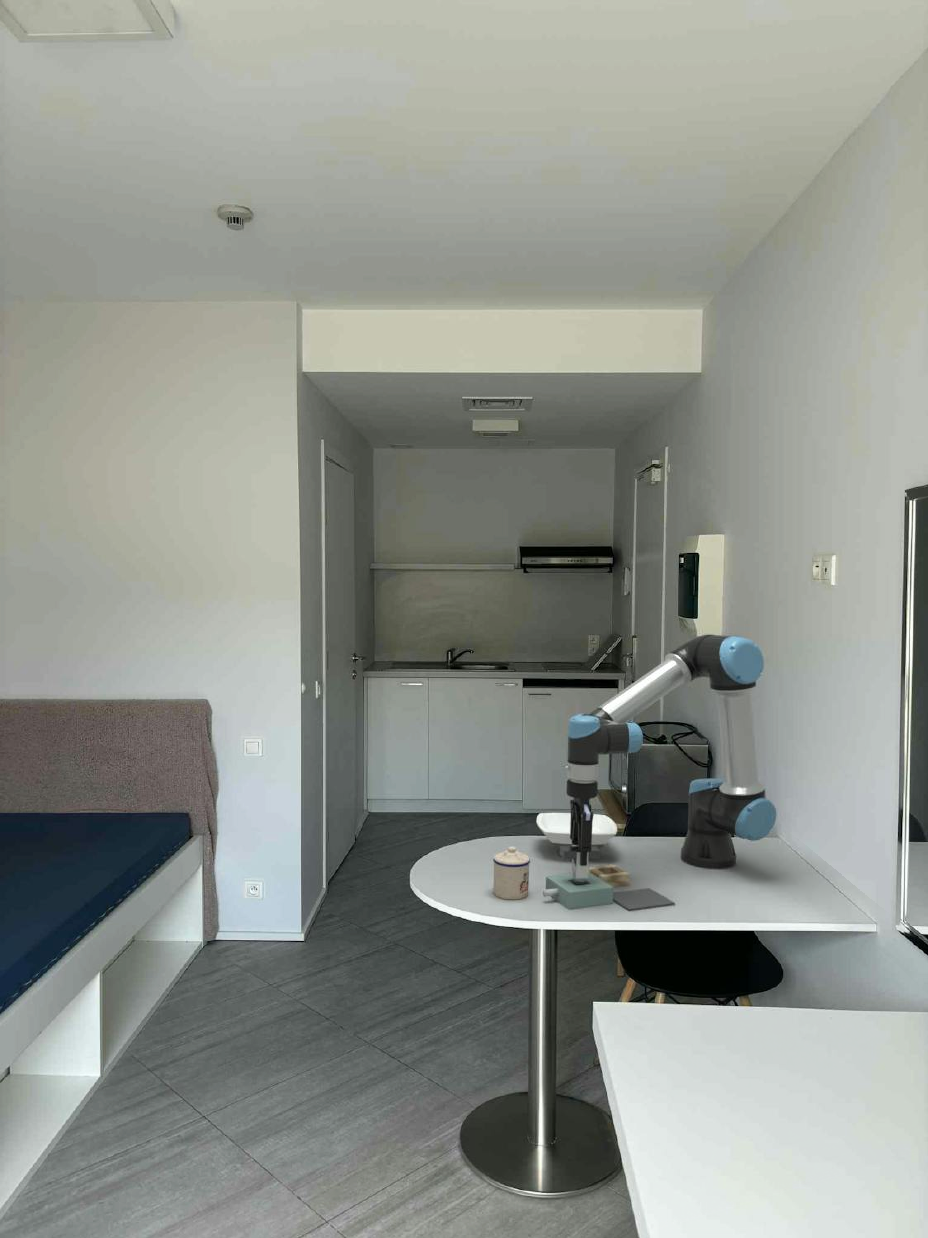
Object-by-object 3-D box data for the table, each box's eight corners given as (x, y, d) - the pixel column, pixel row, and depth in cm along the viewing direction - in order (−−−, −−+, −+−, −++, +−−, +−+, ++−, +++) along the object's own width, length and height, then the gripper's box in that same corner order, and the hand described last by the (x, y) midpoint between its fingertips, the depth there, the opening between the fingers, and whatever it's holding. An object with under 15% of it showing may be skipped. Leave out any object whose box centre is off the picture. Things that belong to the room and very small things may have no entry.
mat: (649, 890, 224) (649, 888, 224) (674, 905, 214) (675, 903, 214) (604, 895, 220) (604, 893, 220) (628, 911, 209) (628, 909, 209)
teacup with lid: (527, 902, 214) (528, 854, 213) (490, 899, 215) (491, 851, 215) (531, 885, 226) (533, 840, 225) (496, 882, 227) (497, 837, 227)
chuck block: (587, 887, 225) (588, 872, 225) (612, 903, 214) (613, 887, 214) (533, 894, 219) (533, 878, 219) (555, 911, 208) (556, 894, 208)
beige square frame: (612, 875, 235) (613, 864, 235) (629, 885, 227) (629, 874, 227) (586, 878, 232) (586, 867, 232) (602, 888, 224) (602, 877, 224)
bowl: (621, 865, 244) (622, 834, 244) (538, 862, 245) (539, 832, 244) (609, 841, 267) (610, 814, 266) (533, 839, 267) (534, 812, 266)
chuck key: (559, 892, 219) (560, 846, 218) (594, 892, 220) (595, 846, 219) (562, 898, 215) (563, 851, 214) (598, 897, 216) (600, 851, 215)
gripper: (559, 772, 224) (556, 863, 225) (575, 788, 207) (572, 886, 208) (588, 772, 225) (585, 863, 226) (606, 787, 208) (603, 886, 209)
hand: (579, 874), depth 217 cm, fingers closed on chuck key, 4 cm apart
